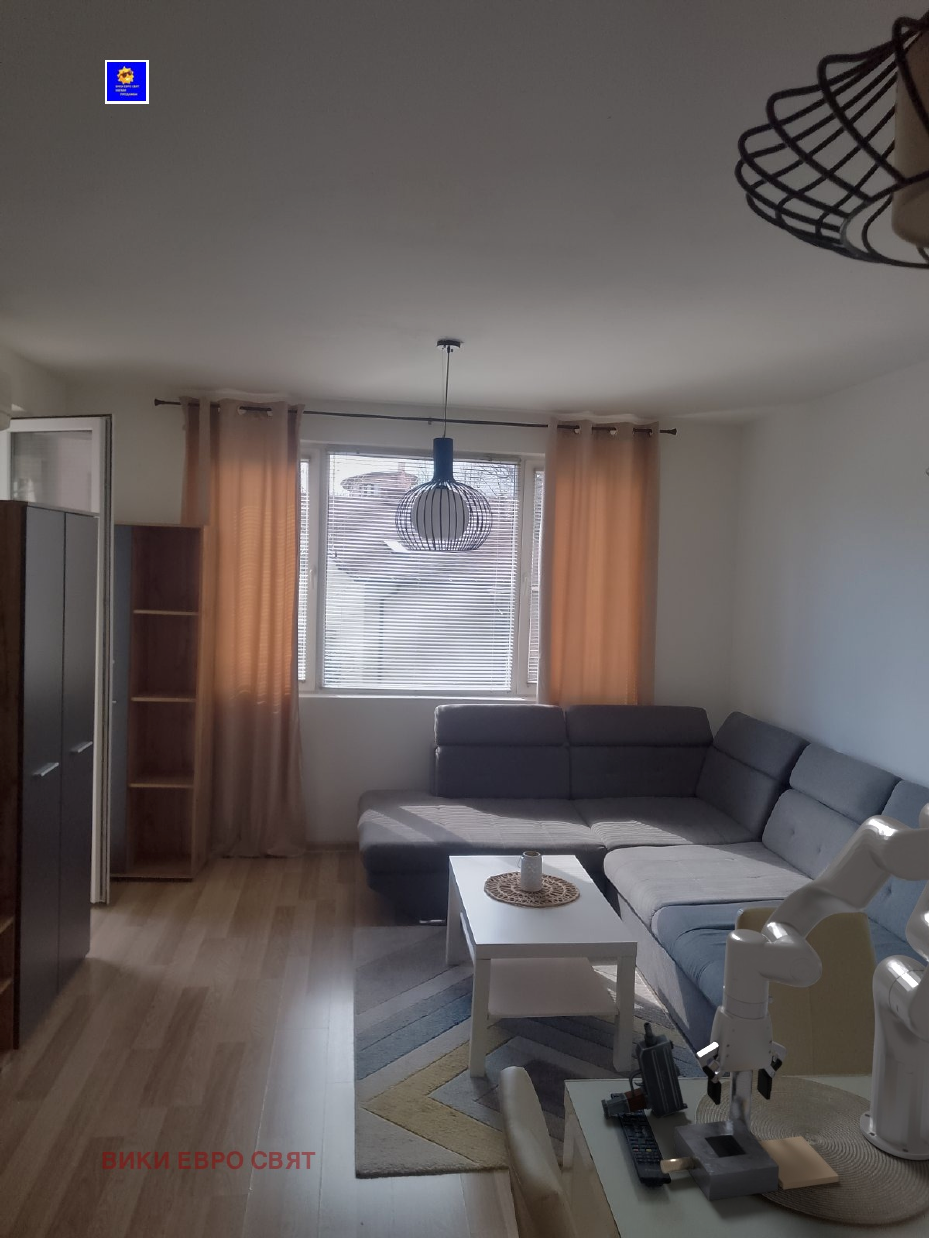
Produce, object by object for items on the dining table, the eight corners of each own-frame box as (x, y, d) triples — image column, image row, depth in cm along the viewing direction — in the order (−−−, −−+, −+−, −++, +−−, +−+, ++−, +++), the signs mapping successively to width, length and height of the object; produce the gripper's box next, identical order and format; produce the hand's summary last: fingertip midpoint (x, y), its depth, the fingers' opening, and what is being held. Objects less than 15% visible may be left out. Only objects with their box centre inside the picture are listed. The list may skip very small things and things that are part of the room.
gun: (586, 1038, 154) (664, 1013, 156) (606, 1123, 155) (683, 1098, 157) (590, 1046, 151) (669, 1021, 153) (610, 1133, 153) (688, 1107, 155)
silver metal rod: (742, 1121, 154) (746, 1052, 153) (753, 1134, 150) (757, 1063, 149) (724, 1123, 153) (727, 1053, 152) (735, 1136, 149) (738, 1065, 149)
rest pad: (801, 1141, 149) (801, 1135, 149) (838, 1181, 139) (838, 1175, 139) (749, 1148, 146) (749, 1142, 146) (783, 1189, 137) (783, 1183, 137)
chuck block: (737, 1141, 148) (738, 1118, 148) (777, 1190, 136) (779, 1165, 136) (646, 1152, 144) (647, 1129, 144) (679, 1204, 133) (680, 1179, 132)
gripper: (776, 989, 156) (770, 1080, 157) (689, 995, 152) (684, 1089, 153) (801, 1010, 149) (795, 1106, 149) (710, 1017, 145) (704, 1115, 146)
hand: (738, 1097), depth 151 cm, fingers open, 9 cm apart
